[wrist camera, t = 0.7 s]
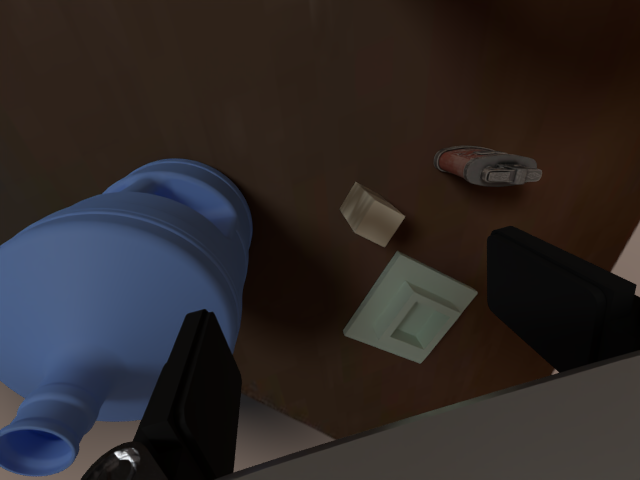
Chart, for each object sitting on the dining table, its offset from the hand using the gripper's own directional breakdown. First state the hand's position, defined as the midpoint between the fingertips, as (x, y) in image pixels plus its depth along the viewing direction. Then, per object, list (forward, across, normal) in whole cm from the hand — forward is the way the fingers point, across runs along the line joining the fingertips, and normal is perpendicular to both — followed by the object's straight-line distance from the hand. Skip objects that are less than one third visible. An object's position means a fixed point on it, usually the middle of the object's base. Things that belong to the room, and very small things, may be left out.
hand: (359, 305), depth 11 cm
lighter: (+30, -21, +4) cm, 37 cm away
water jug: (+30, +14, +4) cm, 34 cm away
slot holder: (+30, -12, +26) cm, 41 cm away
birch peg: (+30, -7, +7) cm, 31 cm away
